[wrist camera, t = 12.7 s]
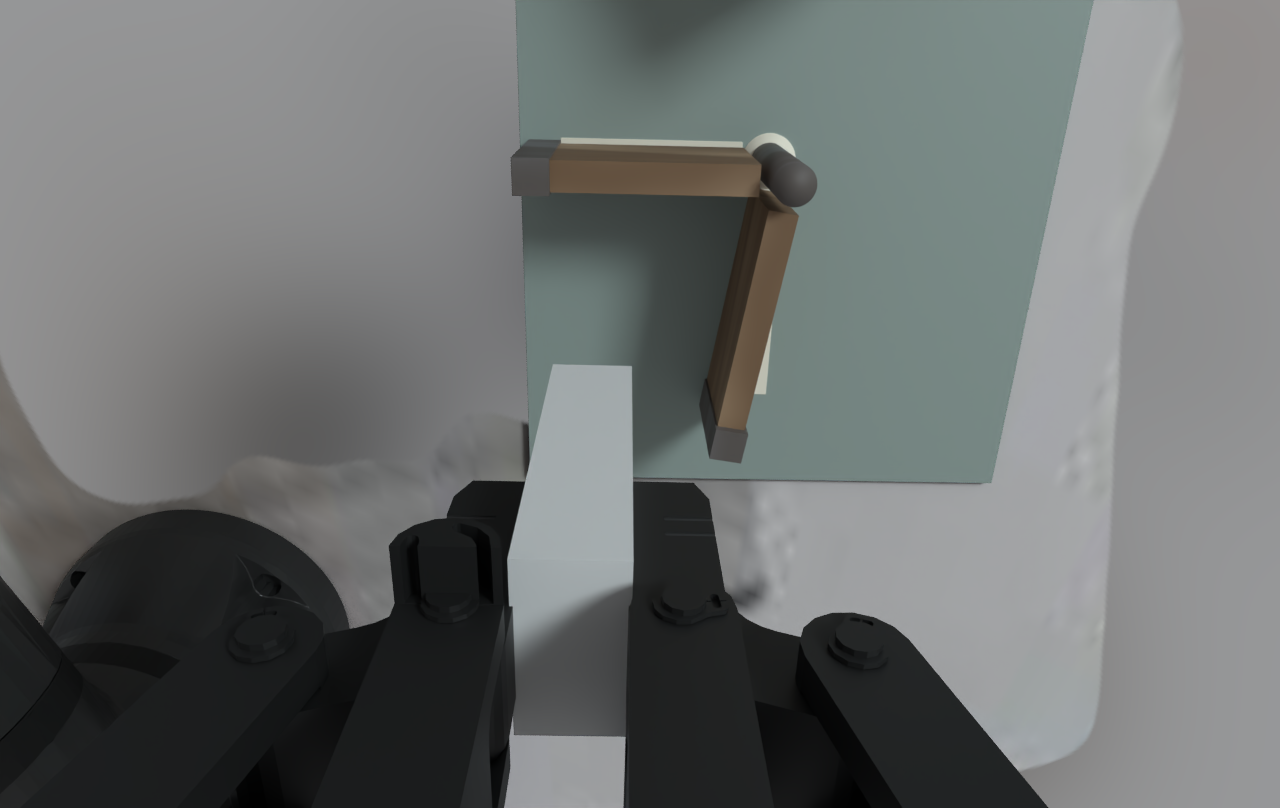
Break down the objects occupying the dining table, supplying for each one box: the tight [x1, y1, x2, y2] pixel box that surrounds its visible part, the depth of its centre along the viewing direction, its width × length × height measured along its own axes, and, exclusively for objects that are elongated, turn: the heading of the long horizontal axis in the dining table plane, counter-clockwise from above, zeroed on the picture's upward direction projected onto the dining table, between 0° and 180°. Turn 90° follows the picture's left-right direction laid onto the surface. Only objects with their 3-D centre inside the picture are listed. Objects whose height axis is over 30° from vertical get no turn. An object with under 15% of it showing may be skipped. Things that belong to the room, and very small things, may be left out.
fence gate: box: [699, 189, 799, 464], centre depth 37 cm, size 1×11×6 cm, turn 170°
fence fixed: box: [511, 139, 817, 207], centre depth 35 cm, size 2×11×7 cm, turn 88°
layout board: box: [516, 0, 1094, 483], centre depth 40 cm, size 24×24×1 cm
